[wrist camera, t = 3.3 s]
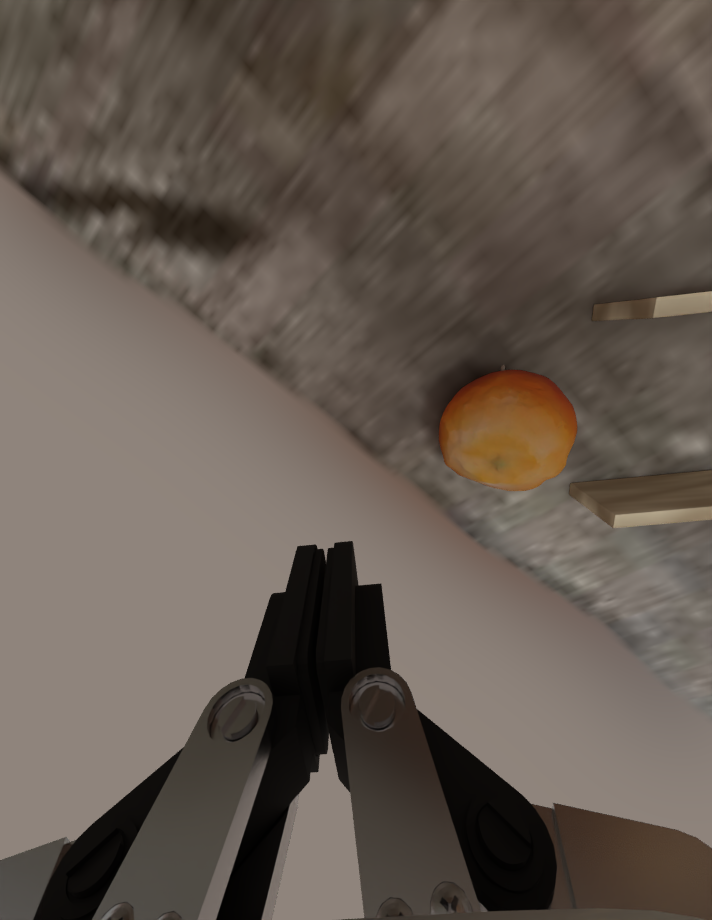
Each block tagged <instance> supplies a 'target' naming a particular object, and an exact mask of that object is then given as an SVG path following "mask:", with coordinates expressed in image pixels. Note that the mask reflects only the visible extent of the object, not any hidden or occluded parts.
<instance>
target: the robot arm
mask: <svg viewBox="0 0 712 920" xmlns="http://www.w3.org/2000/svg"><path fill="white" fill-rule="evenodd" d="M384 613H385V612H384V603H383V594H382V586H381V584H371V585H360V586H358V580H357V571H356V563H355V556H354V548H353V542H352V541H348V542H338V543H335V544H334V548H328V552H327V561H325V555H324V550H323V549H317V546H316V545H306V546H298V547H297V550H296V554H295V558H294V561H293V565H292V569H291V573H290V577H289V580H288V584H287V588H286V592H283V593H273V594H272V595H271V597H270V600H269V603H268V606H267V609H266V612H265V615H264V619H263V622H262V626H261V628H260V631H259V634H258V638H257V641H256V644H255V647H254V650H253V653H252V657H251V660H250V663H249V666H248V669H247V672H246V676H245V679H240V680H237V681H234V682H232V683H230V684H228V685H227V686H225V687H224V688H222V689H221V690H220V691H219V692H218V693H217V694H216V695H215V696H214V697H212V699H211V700H210V702H209V703H208V705H207V706H206V707H205V709H204V711H203V713H202V714H201V716H200V718H199V720H198V722H197V724H196V726H195V727H194V729H193V731H192V733H191V735H190V737H189V739H188V741H187V742H186V744H185V746H184V747H183V748H182V749H181V750H180V751H179V752H177V753H176V754H175V755H174V756H173V757H172V758H170V759H169V760H168V761H167V762H166V763H164V764H163V765H162V766H161V767H160V768H158V769H157V770H156V771H155V772H154V773H153V774H151V775H150V776H149V777H148V778H147V779H145V780H144V781H143V782H142V783H141V784H139V785H138V786H137V787H136V788H135V789H133V790H132V791H131V792H130V793H129V794H128V795H126V796H125V797H124V798H123V799H122V800H120V801H119V802H118V803H117V804H116V805H114V807H112V808H111V809H110V810H109V811H107V812H106V813H105V814H104V815H103V816H102V817H101V818H99V819H98V820H97V821H95V823H93V824H92V825H91V826H90V827H89V828H88V829H87V830H86V831H85V832H84V833H83V834H82V835H81V836H80V837H79V838H78V839H77V840H75V841H71V842H70V841H69V840H68V838H67V837H65V838H62V839H59V840H56V841H53V842H50V843H48V844H45V845H42V846H39V847H36V848H34V849H31V850H28V851H25V852H22V853H19V854H17V855H14V856H11V857H8V858H5V859H3V860H0V920H272V916H273V912H274V907H275V903H276V898H277V894H278V890H279V885H280V881H281V877H282V872H283V868H284V864H285V859H286V855H287V850H288V846H289V842H290V838H291V833H292V829H293V824H294V820H295V816H296V811H297V806H298V805H297V804H298V797H299V795H298V794H299V793H300V792H301V791H302V789H303V788H304V787H305V786H306V785H307V783H308V782H309V781H310V772H318V769H319V756H320V754H327V750H328V739H329V734H330V739H331V744H332V749H333V753H334V758H335V763H336V767H337V772H338V777H339V780H340V781H341V782H342V783H343V785H344V786H345V787H346V788H347V789H348V791H349V792H350V793H351V802H352V811H353V820H354V829H355V838H356V847H357V856H358V864H359V873H360V882H361V891H362V900H363V909H364V918H362V919H345V920H712V848H711V847H709V846H708V845H707V844H705V843H703V842H702V841H701V840H699V839H698V838H696V837H693V836H691V835H689V834H686V833H684V832H681V831H679V830H675V829H670V828H666V827H661V826H657V825H652V824H648V823H643V822H638V821H634V820H630V819H624V818H620V817H616V816H611V815H607V814H602V813H598V812H593V811H588V810H584V809H579V808H575V807H570V806H565V805H561V804H556V803H553V806H552V808H548V807H543V806H539V805H534V804H530V803H529V802H528V801H527V799H525V797H524V796H523V795H522V794H520V793H519V792H518V791H517V790H516V789H514V788H513V787H512V786H511V785H509V784H508V783H507V782H506V781H504V780H503V779H502V778H501V777H499V776H498V775H497V774H496V773H495V772H493V771H492V770H491V769H489V767H487V766H486V765H485V764H484V763H482V762H481V761H480V760H479V759H478V758H476V757H475V756H474V755H472V754H471V753H470V752H469V751H468V750H467V749H465V748H464V747H462V746H461V745H460V744H459V743H458V742H457V741H455V740H454V739H453V738H452V737H451V736H449V735H448V734H447V733H446V732H444V731H443V730H442V729H441V728H440V727H438V726H437V725H435V723H433V722H432V721H431V720H430V719H428V718H427V717H426V716H425V715H424V714H422V713H421V712H420V711H419V710H417V709H416V705H415V702H414V699H413V696H412V693H411V691H410V689H409V686H408V684H407V682H406V681H405V680H404V679H403V678H402V677H401V676H400V675H399V674H397V673H395V672H393V671H392V670H391V666H390V657H389V648H388V639H387V630H386V621H385V614H384ZM343 920H344V919H343Z"/></svg>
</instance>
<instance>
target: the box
mask: <svg viewBox="0 0 712 920" xmlns="http://www.w3.org/2000/svg"><path fill="white" fill-rule="evenodd" d="M704 312H712V291H710V292H701V293H692V294H683V295H674V296H665V297H657V298H648V299H639V300H630V301H621V302H613V303H604V304H595V305H594V308H593V316H592V321H601V320H623V319H645V318H659V317H668V316H677V315H686V314H695V313H704ZM569 495H570V496H572V497H573V498H574V499H576V500H577V501H578V502H580V503H581V504H582V505H584V506H585V507H586V508H587V509H589V510H590V511H591V512H593V513H594V514H595V515H597V516H598V517H599V518H601V519H602V520H603V521H604V522H606V523H607V524H608V525H610V526H611V527H612V528H620V527H632V526H643V525H654V524H666V523H677V522H689V521H700V520H711V519H712V470H707V471H696V472H685V473H675V474H664V475H653V476H642V477H632V478H621V479H610V480H599V481H589V482H578V483H571V484H570V491H569Z"/></svg>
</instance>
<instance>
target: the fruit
mask: <svg viewBox="0 0 712 920" xmlns="http://www.w3.org/2000/svg"><path fill="white" fill-rule="evenodd" d="M576 434H577V421H576V415H575V412H574V408H573V406H572V404H571V403H570V402H569V400H568V399H567V398H566V396H565V395H564V394H563V392H562V391H561V390H560V389H559V388H558V387H557V385H556V384H555V383H554V382H552V381H551V380H550V379H548V378H547V377H545V376H542V375H539V374H535V373H531V372H527V371H522V370H505V365H504V366H503V365H502V366H501V371H497V372H492V373H489V374H487V375H484V376H482V377H480V378H478V379H476V380H474V381H472V382H471V383H469V384H467V385H466V386H464V387H463V388H461V389H460V390H459V391H458V393H457V394H456V395H455V396H454V397H453V399H452V400H451V401H450V402H449V404H448V405H447V407H446V409H445V411H444V413H443V415H442V418H441V421H440V425H439V443H440V447H441V451H442V454H443V457H444V462H445V464H446V465H447V466H448V467H450V468H451V469H452V470H454V471H455V472H456V473H457V474H458V475H460V476H463V477H466V478H468V479H471V480H474V481H476V482H479V483H481V484H484V485H487V486H490V487H493V488H497V489H502V490H507V491H526V490H530V489H533V488H536V487H538V486H539V485H541V484H542V483H543V482H544V481H545V480H547V479H550V478H553V477H555V476H557V475H558V474H559V473H560V472H561V471H562V470H563V468H564V467H565V466H566V461H567V457H568V454H569V452H570V449H571V447H572V445H573V443H574V440H575V437H576Z"/></svg>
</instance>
